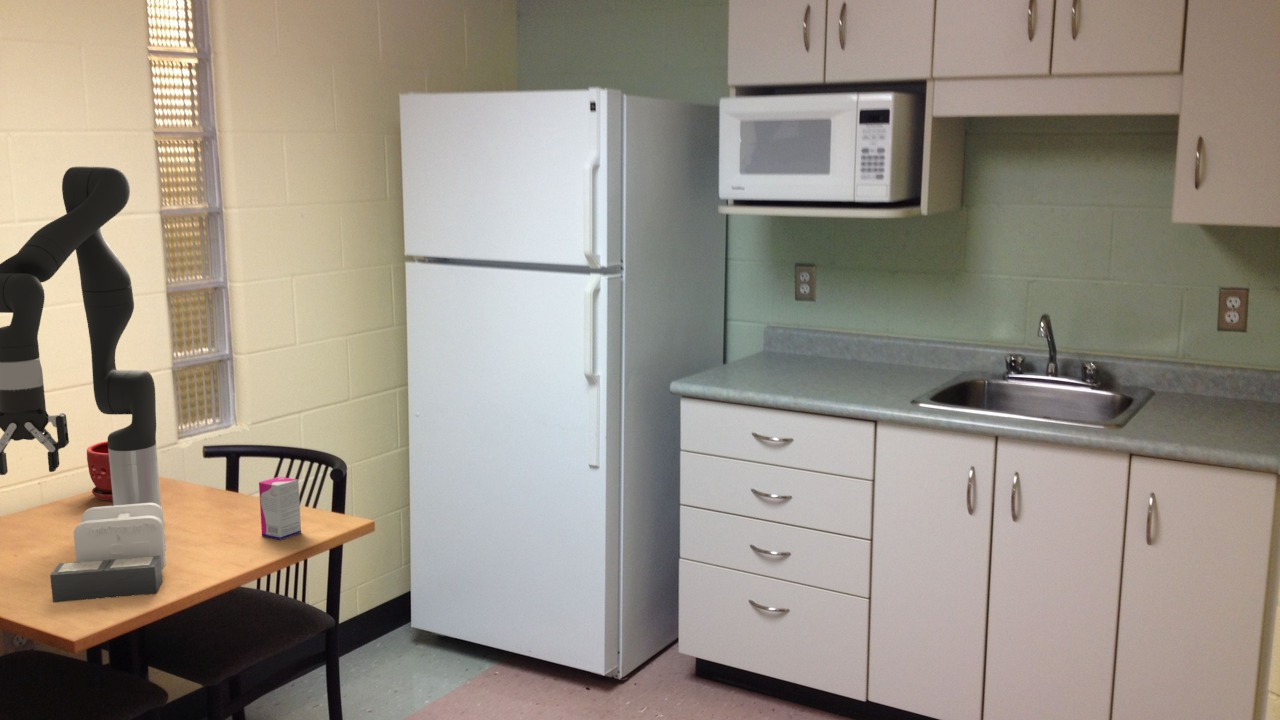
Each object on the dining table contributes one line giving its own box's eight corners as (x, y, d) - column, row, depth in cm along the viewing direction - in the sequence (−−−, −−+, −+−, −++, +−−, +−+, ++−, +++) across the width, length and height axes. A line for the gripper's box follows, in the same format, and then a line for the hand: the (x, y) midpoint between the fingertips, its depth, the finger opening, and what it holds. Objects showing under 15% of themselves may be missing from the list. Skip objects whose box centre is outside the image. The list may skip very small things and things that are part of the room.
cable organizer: (171, 558, 221) (167, 500, 219) (165, 577, 211) (160, 517, 209) (87, 566, 217) (81, 507, 215) (76, 585, 207) (70, 524, 205)
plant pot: (85, 506, 255) (80, 454, 253) (96, 490, 268) (92, 440, 266) (148, 501, 259) (144, 450, 256) (156, 486, 271) (152, 437, 269)
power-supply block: (61, 590, 205) (59, 562, 204) (162, 581, 209) (160, 554, 208) (53, 602, 199) (50, 574, 198) (156, 593, 203) (154, 565, 202)
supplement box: (302, 532, 236) (299, 479, 234) (280, 540, 231) (276, 486, 229) (282, 528, 239) (279, 475, 237) (260, 536, 234) (257, 482, 232)
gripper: (68, 378, 210) (76, 465, 212) (-18, 382, 207) (-9, 470, 209) (57, 386, 203) (65, 475, 205) (-32, 389, 199) (-22, 480, 202)
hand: (28, 472), depth 207 cm, fingers open, 7 cm apart
